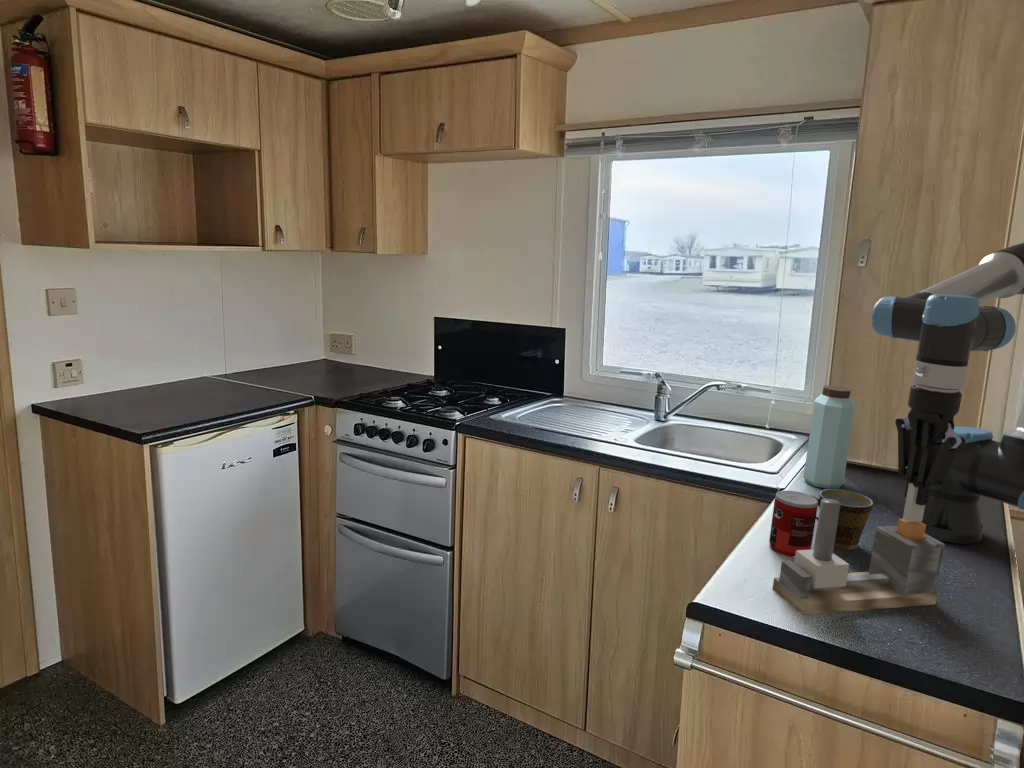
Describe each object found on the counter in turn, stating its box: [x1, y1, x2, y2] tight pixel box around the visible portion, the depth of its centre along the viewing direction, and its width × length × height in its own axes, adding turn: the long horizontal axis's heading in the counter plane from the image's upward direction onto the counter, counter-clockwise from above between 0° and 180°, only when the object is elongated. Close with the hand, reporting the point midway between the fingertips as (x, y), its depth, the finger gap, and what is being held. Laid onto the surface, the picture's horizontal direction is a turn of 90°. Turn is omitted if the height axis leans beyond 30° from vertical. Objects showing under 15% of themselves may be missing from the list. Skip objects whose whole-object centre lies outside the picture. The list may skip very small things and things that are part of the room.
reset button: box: [896, 518, 926, 540], centre depth 126 cm, size 3×3×3 cm
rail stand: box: [772, 525, 946, 616], centre depth 125 cm, size 26×9×11 cm, turn 103°
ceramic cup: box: [809, 488, 874, 551], centre depth 148 cm, size 13×10×10 cm
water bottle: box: [803, 385, 856, 490], centre depth 182 cm, size 10×10×25 cm
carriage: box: [793, 499, 850, 588], centre depth 122 cm, size 6×6×14 cm
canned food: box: [768, 490, 819, 557], centre depth 143 cm, size 8×8×11 cm
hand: (912, 519), depth 125 cm, fingers closed
